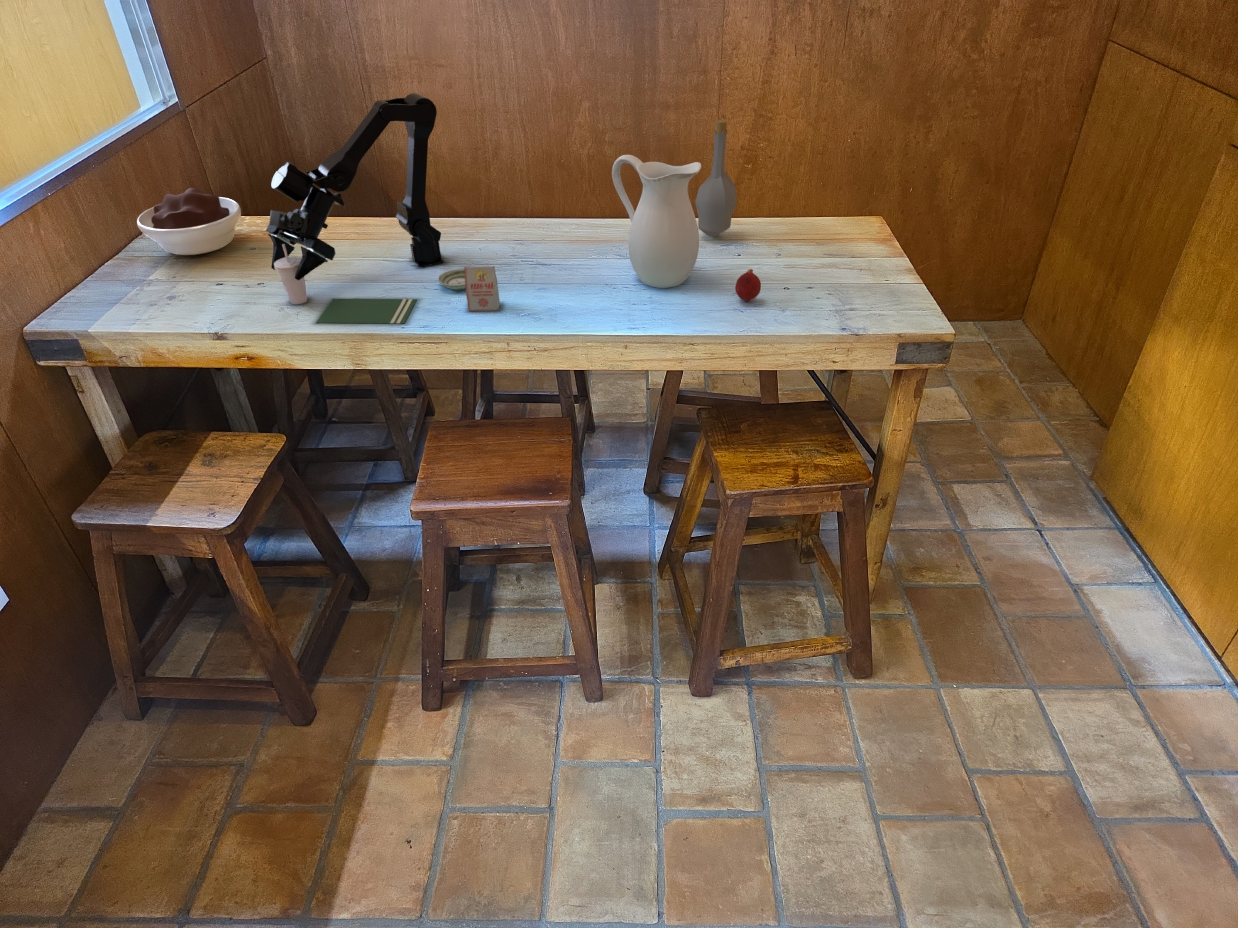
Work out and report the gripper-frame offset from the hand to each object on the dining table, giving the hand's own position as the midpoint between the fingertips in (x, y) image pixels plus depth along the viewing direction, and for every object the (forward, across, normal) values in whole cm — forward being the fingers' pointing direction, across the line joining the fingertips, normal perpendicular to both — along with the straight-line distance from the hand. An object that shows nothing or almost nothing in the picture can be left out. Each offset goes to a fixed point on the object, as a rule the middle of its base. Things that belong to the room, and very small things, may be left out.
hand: (284, 274), depth 180 cm
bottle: (-60, +57, +71) cm, 109 cm away
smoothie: (+4, 0, +6) cm, 8 cm away
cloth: (0, +18, +11) cm, 21 cm away
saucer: (-16, +24, +26) cm, 39 cm away
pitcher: (-40, +58, +50) cm, 86 cm away
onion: (-40, +84, +51) cm, 107 cm away
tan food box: (-13, +38, +23) cm, 46 cm away
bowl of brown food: (+2, -49, +8) cm, 50 cm away
